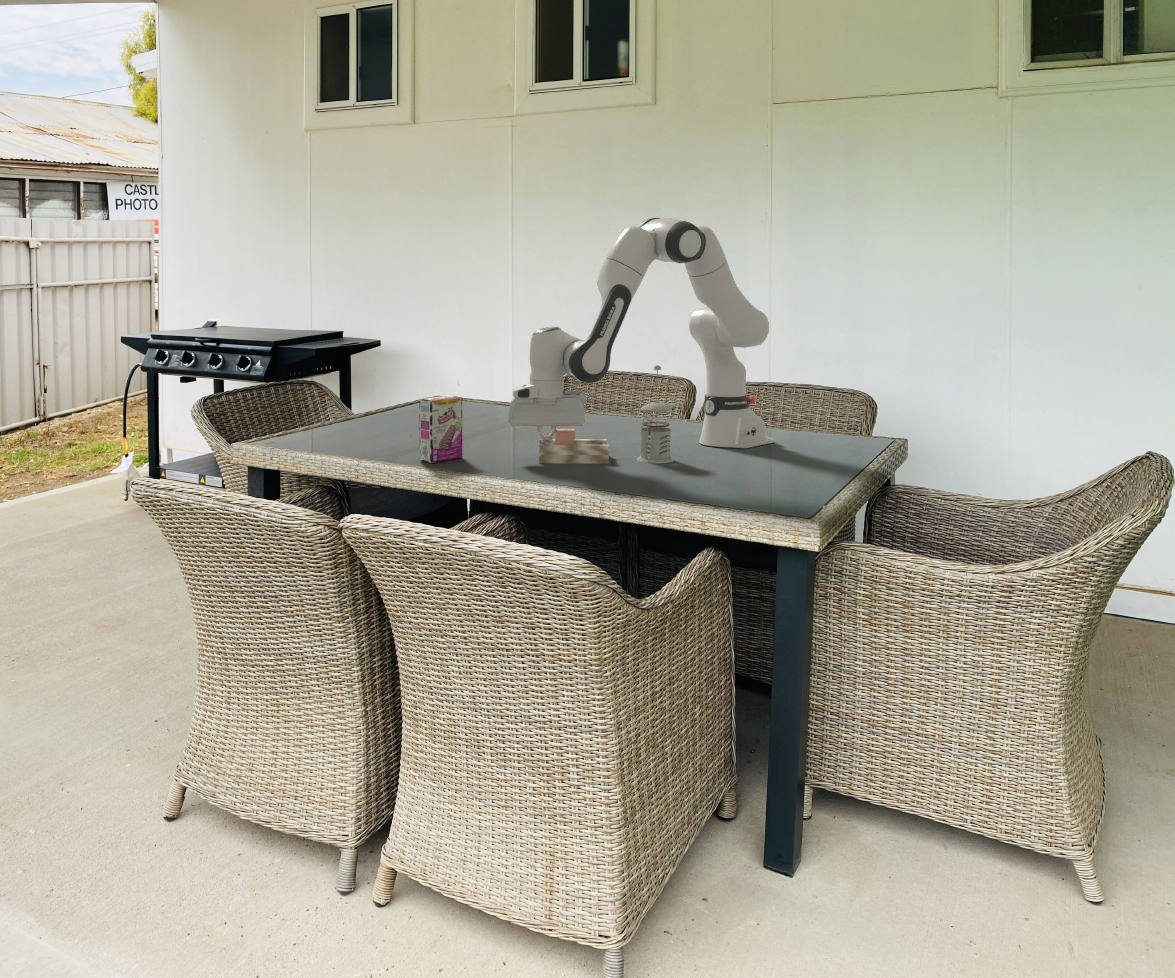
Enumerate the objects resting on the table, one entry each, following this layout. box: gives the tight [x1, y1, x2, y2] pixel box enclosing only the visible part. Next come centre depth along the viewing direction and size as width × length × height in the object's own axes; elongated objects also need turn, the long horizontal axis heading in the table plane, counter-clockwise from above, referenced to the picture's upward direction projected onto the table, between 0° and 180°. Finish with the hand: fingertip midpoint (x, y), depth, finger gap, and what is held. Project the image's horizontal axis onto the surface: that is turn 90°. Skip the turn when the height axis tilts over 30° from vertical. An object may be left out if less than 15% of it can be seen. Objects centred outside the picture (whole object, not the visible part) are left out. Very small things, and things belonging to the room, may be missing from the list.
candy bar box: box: [418, 395, 463, 464], centre depth 253 cm, size 11×5×16 cm, turn 141°
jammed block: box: [554, 428, 576, 445], centre depth 257 cm, size 5×6×6 cm
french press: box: [636, 364, 674, 464], centre depth 254 cm, size 10×12×25 cm
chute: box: [538, 438, 610, 465], centre depth 257 cm, size 18×12×4 cm, turn 92°
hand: (546, 442), depth 257 cm, fingers closed
